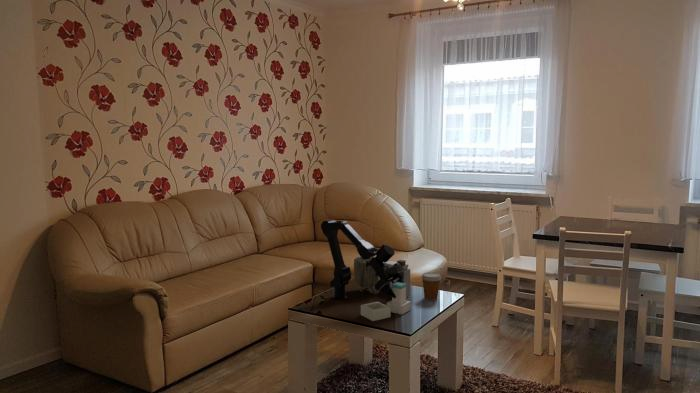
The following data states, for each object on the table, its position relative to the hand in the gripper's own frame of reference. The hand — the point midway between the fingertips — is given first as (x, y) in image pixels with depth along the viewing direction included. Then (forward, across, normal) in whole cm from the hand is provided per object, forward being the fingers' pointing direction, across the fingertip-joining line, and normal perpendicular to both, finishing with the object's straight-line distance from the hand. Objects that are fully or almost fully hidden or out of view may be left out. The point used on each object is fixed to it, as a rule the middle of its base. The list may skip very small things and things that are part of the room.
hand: (400, 295), depth 232 cm
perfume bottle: (-3, +20, +13) cm, 24 cm away
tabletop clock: (-16, +16, +26) cm, 35 cm away
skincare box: (-9, +26, +19) cm, 33 cm away
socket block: (+1, -12, +9) cm, 16 cm away
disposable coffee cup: (+7, +25, +3) cm, 26 cm away
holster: (+5, 0, +6) cm, 7 cm away
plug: (+5, 0, +6) cm, 7 cm away
